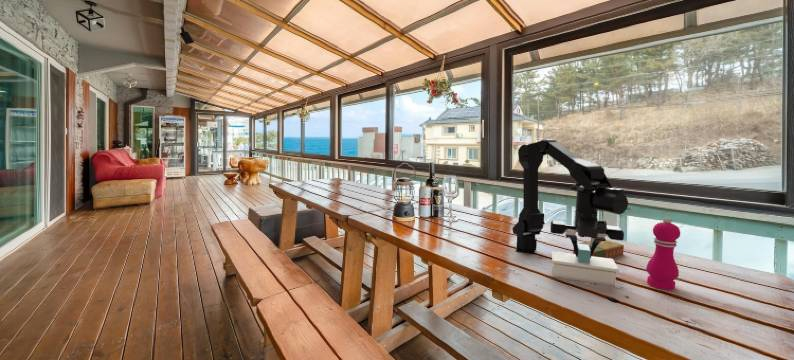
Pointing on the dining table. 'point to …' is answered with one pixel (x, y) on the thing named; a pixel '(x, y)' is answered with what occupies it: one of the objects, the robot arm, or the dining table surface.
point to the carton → (606, 249)
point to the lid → (584, 259)
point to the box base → (584, 274)
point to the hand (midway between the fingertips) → (582, 257)
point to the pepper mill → (663, 256)
